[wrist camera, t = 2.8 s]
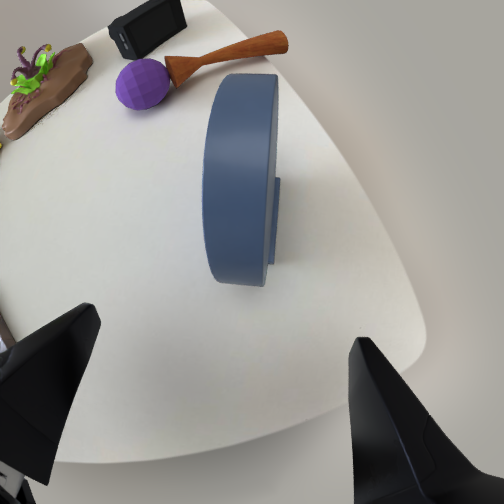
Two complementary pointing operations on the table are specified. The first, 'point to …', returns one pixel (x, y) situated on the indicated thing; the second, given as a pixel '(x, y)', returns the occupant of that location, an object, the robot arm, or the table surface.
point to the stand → (5, 336)
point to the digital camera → (147, 27)
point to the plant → (43, 86)
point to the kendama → (185, 69)
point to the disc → (241, 179)
